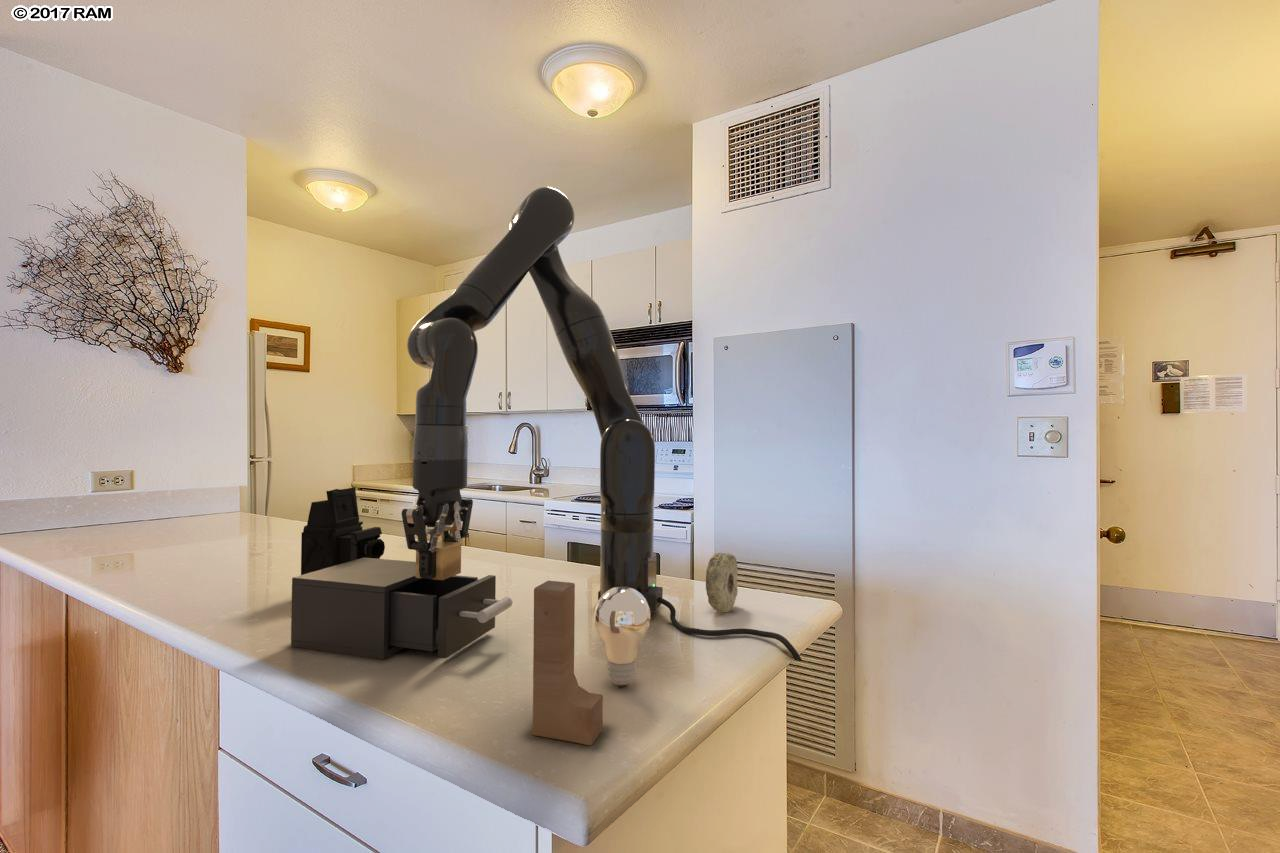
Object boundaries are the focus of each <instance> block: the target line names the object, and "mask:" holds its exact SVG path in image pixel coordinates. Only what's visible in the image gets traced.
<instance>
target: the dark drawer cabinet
mask: <svg viewBox="0 0 1280 853" xmlns="http://www.w3.org/2000/svg"><path fill="white" fill-rule="evenodd" d="M420 579H423V578H416V561H412V560H411V561H410V560H398V559H388V558H386V559H385V558H380V559H376V558H360V559H357V560H353V561H350V562H346V563H343V564H339V565H335V566H332V567H328V568H325V569H321V570H318V571H314V572H311V573H307V574H304V575H301V574H300V575H296V576H293V577H292V578H291V616H290V618H291V619H290V647H293V648H300V649H307V650H308V649H309V650H315V651H320V652H328V653H335V654H343V655H350V656H358V657H364V658H371V659H378V660H379V659H380V660H385V659H387V658H389V657H391V656H393V655H394V654H396V653H398V652H400V651H402V650H403V649H405V648H403V647H396V646H388V628H389V591H391V590H394V589H397V588H399V587H402V586H404V585H407V584H410V583H412V582H415V581H418V580H420Z"/></svg>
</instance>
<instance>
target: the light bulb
mask: <svg viewBox="0 0 1280 853" xmlns="http://www.w3.org/2000/svg"><path fill="white" fill-rule="evenodd" d="M651 615H652V613H651V614H650V609H649V605H648V603H647V601H646V599H645V598H644V596H643V595H642V594H641V593H640V592H638V591H637V590H635V589H633V588H631V587H627V586H618V587H614V588H612V589H610V590H608V591H607V592H605V593H604V594H603V595H602V596H601V598H600V599H599V601H598V600H597V603H596V604H595V607H594V612H593V622H594V627H595V630H596V632H597V634H598V636H599V637H600V639H601V640H602V643H603V645H604V648H605V654H606V657H607V659H608V662H607V663H608V664H607V665H608V666H607V667H608V668H607V670H608V672H607V673H608V675H607V676H608V678H609V679H610V681H612V682H613V684H615V685H616V686H617V687H618V688H625V687H627V685H628V684H630V683H631V682H632V681H633V680H634V678H635V677H636V659H637V657H638V655H639V654H638V653H639V648H640V645H641V643H642V641H643V639H644V637H645V636H646V634H647V633H648V630H649V628H650V623H651V620H652V616H651Z"/></svg>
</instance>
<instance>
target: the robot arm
mask: <svg viewBox="0 0 1280 853" xmlns="http://www.w3.org/2000/svg"><path fill="white" fill-rule="evenodd" d="M574 224H575V210H574V207H573V205H572V202H571V201H570V199H569V198H568V197H567V196H566V194H564V193H563V192H562V191H561V190H559V189H556V188H553V187H551V186H550V187H549V186H542V187H538V188H535V189H534V190H532V191H531V192H530V193H528V195H527V196H525V198H524V199H523V201H522V202H520V204H519V205H518V207H517V208H516V209H515V211H514V212H513V214H512V216H511V218H510V221H509V231H508V232H507V233H506V234H505V235H504V237H502V238H501V240H500V241H499V242H498V243H497V244H496V245H495V246H494V247H493V248H492V249H491V250H490V251H489V252H488V253H487V254H486V256H484V258H483V259H482V260H480V261H479V263H477V264H476V265H475V266H474V267H473V269H472V270H471V271H470V272H469V273H468V274H467V275H466V276H465V278H464V279H463V280H462V281H461V283H460V284H458V286H457V287H456V288H455V289H454V291H453V292H452V293H451V294H450V295H449V296H448V297H447V298H446V299H444V300H443V301H441V302H440V303H438V305H436V306H434V308H433V309H431V310H430V311H428V312H427V313H426V314H425V315H424V316H423V317H422V318H420V319H419V320H417V322H416V324H415V325H414V326H413V327H412V329H411V330H410V332H409V335H408V336H407V341H406V347H407V353H408V355H409V357H410V359H411V360H412V362H414V363H415V364H416V365H417V366H418V367H421V368H424V369H428V370H431V373H430V378H429V380H428V381H427V383H425V384H423V385H421V386H420V387H419V388H418V389H417V391H416V394H415V426H414V433H413V440H412V488H413V489H414V490H416V491H418V492H417V493H418V497H417V500H416V503H415V505H414V506H413V507H410V508H403V509H402V510H401V519H402V524H403V530H404V535H405V541H406V546H407V549H408V550H412V551H413V550H414V551H416V550H417V551H418V552H419V574H420V577H421V578H423V579H432V578H435V576H436V552H434V551H435V550H436V546H437V541H439V537H440V536H441V541H445V542H458V543H462V542H461V541H462V539H466V538H467V537H468V534H469V528H470V522H471V517H472V511H473V507H474V506H473V505H474V500H473V499H472V498H463V497H462V494H461V490H464V489H465V488H467V487H468V454H469V453H468V450H469V448H468V446H469V444H468V432H467V397H468V394H469V391H470V387H471V384H472V380H473V376H474V372H475V369H476V365H477V361H478V353H479V344H478V339H477V336H476V332H477V331H480V330H482V329H485V328H487V326H489V325H490V324H491V323H492V322H493V321H494V319H495V318H496V316H498V314H499V313H500V311H501V310H502V309H503V307H504V306H505V305H506V304H507V302H508V301H509V300H510V298H511V297H512V295H513V294H514V293H515V292H516V290H517V288H518V287H519V286H520V284H521V283H522V282H523V280H524V278H525V277H526V276H527V274H528V273H529V275H530V277H531V279H532V281H533V283H534V285H535V287H536V289H537V292H538V295H539V296H540V300H541V301H542V304H543V306H544V309H545V311H546V313H547V315H548V318H549V321H550V323H551V326H552V328H553V332H554V334H555V336H556V339H557V342H558V344H559V347H560V349H561V352H562V354H563V356H564V359H565V361H566V363H567V365H568V367H569V369H570V371H571V372H572V374H573V376H574V378H575V380H576V382H577V384H578V385H579V387H580V389H581V390H582V392H583V393H584V395H585V397H586V398H587V400H588V402H589V404H590V407H591V410H592V412H593V415H594V418H595V421H596V425H597V428H598V431H599V434H600V438H601V440H600V448H599V449H600V450H599V452H600V453H599V495H600V553H599V554H600V555H599V556H600V557H599V558H600V559H599V560H600V562H599V563H600V564H599V566H600V568H599V575H600V576H599V590H598V592H597V593H598V594H597V602H598V601H599V599H600V598H601V596H602V595H603V594H604V593H605V592H607V591H608V590H610V589H612V588H614V587H618V586H627V587H631V588H633V589H635V590H637V591H638V592H640V593H641V594H642V595H643V596H644V598H645V599H646V601H647V603H648V605H649V609H650V614H651V615H652V613H653V612H657V610H658V609H660V607H661V606H662V605H663V606H665V607H666V608H667V609H669V611H670V614H669V620H670V622H671V623H672V625H673V626H674V627H675V629H677V630H678V631H680V632H682V633H685V634H692V635H698V636H704V637H721V636H723V637H724V636H733V635H734V636H735V635H750V636H757V637H760V638H761V637H762V638H768V639H773V640H776V641H778V642H780V643H781V644H782V645H783V646H784V647H785V648H786V649H787V650H788V652H789V654H790V655H791V656H792V657H793V659H794V660H795V661H798V662H801V661H803V659H802V658H801V656H800V654H799V652H798V651H797V650H796V649H795V647H794V646H793V644H792V643H791V642H790V641H789V640H788V638H786V637H785V636H783V635H782V634H779V633H776V632H773V631H766V630H759V629H753V628H745V627H742V628H740V627H738V628H737V627H736V628H727V629H702V628H696V627H695V628H694V627H687V626H683V625H682V624H681V623H680V622H679V621H678V620H677V618H676V615H677V613H676V612H677V611H676V608H675V606H674V605H673V604H672V603H671V602H670V601H668V600H667V599H665V598H663V596H664V594H663V590H664V589H663V588H664V587H663V586H657V560H658V559H657V553H656V552H654V533H655V532H654V528H655V527H654V526H655V525H654V524H655V522H654V521H655V519H654V518H655V517H654V516H655V515H654V514H655V513H654V512H655V490H656V488H655V484H656V483H655V482H656V481H655V480H656V479H655V478H656V477H655V476H656V444H655V438H654V436H653V433H652V432H651V430H650V428H649V427H648V426H647V425H646V424H645V422H644V420H643V418H642V416H641V415H640V413H639V411H638V408H637V407H636V405H635V403H634V401H633V399H632V397H631V394H630V392H629V389H628V386H627V382H626V380H625V376H624V372H623V367H622V363H621V358H620V356H619V353H618V349H617V347H616V343H615V340H614V338H613V335H612V332H611V330H610V327H609V325H608V322H607V319H606V316H605V315H604V312H603V310H602V309H601V307H600V305H599V304H598V303H597V302H596V301H595V300H594V299H593V297H592V296H590V295H589V294H588V293H587V292H586V291H585V290H583V289H582V288H581V287H580V286H578V284H576V283H575V281H574V280H573V279H572V278H571V276H570V275H569V273H568V271H567V269H566V266H565V264H564V262H563V260H562V256H561V254H560V250H559V245H560V244H561V243H562V242H563V241H564V240H565V239H566V238H567V237H568V236H569V235H570V233H571V231H572V229H573V227H574ZM427 536H429V541H428V538H427ZM416 537H417V539H416Z"/></svg>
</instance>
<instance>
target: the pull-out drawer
mask: <svg viewBox="0 0 1280 853" xmlns="http://www.w3.org/2000/svg"><path fill="white" fill-rule="evenodd" d="M496 579H497V578H496V575H493V574H488V575H486V576H484V577H482V578H479V577H478V576H469V575H468V576H467V575H459V574H457V575H454V576H452V577H449V578H447V579H445V580H433V579H420V580H418V581H415V582H412V583H410V584H407V585H404V586H402V587H399V588H397V589H394V590H391V591H389V628H388V646H396V647H403V648H404V649H411V650H419V651H420V650H421V651H425V652H426V651H427V652H434V651H435V650H437V658H438V659H448V658H449V657H450V656H453V655H454V654H455V653H457V652H458V651H460V650H461V649H463V648H465V647H466V646H468V645H470V644H471V643H473V642H475V640H477V639H479V638H481V637H482V636H483V635H486V634H487V633H488V632H490V631H492V630H493V629H495V628H496V616H498V615H500V614H501V613H503V612H505V611H506V610H508V609H510V608H511V607H512V606H513V600H512V598H510V596H504V597H503V598H502V599H496V590H497V589H496V586H497V585H496V582H497V581H496Z"/></svg>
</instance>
